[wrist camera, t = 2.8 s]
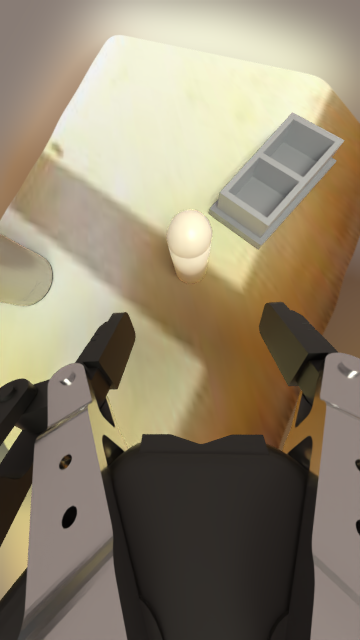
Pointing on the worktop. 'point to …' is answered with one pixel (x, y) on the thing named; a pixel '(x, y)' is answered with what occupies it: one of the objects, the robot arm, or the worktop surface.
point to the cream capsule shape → (189, 244)
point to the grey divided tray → (276, 179)
